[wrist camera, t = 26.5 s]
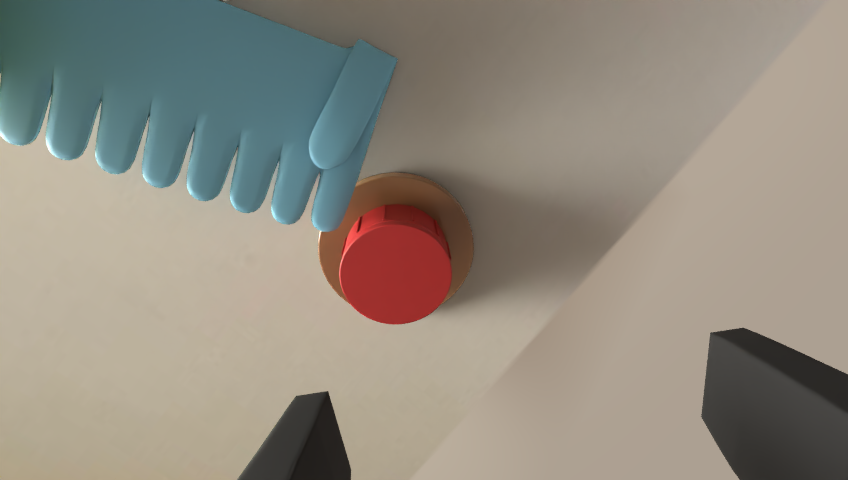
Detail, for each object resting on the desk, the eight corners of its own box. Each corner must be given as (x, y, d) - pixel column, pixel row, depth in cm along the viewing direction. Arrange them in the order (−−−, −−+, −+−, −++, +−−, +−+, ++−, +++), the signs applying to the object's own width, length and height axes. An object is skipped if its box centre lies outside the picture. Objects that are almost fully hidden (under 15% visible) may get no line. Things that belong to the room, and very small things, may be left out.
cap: (450, 206, 18) (457, 227, 16) (442, 297, 19) (447, 326, 17) (345, 201, 18) (338, 221, 16) (345, 293, 19) (339, 323, 17)
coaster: (502, 229, 19) (505, 235, 18) (413, 334, 21) (413, 342, 20) (376, 140, 17) (375, 143, 17) (291, 262, 19) (288, 268, 19)
